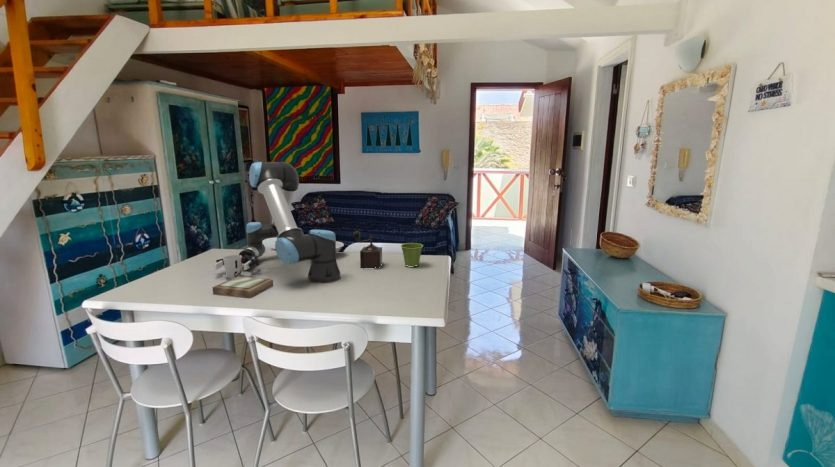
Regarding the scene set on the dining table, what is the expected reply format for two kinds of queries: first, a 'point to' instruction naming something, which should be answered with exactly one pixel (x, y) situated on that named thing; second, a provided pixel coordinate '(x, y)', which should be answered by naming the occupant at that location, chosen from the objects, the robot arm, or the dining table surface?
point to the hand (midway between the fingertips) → (230, 267)
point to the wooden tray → (243, 286)
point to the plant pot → (411, 253)
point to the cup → (233, 265)
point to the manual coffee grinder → (369, 254)
